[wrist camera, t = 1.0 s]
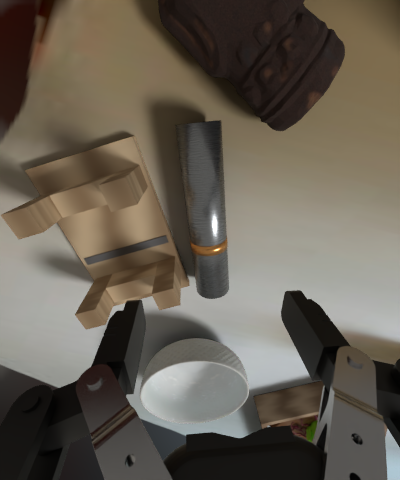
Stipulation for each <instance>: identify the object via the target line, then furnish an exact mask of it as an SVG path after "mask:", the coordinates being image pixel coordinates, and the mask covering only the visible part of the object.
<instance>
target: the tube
mask: <svg viewBox="0 0 400 480" xmlns="http://www.w3.org/2000/svg"><path fill="white" fill-rule="evenodd" d="M175 126H176V133H177V141H178V149H179V156H180V164H181V172H182V179H183V187H184V195H185V203H186V210H187V218H188V226H189V233H190V244H191V250H192V256H193V264H194V272H195V279H196V287H197V292H198V293H199V295H201V296H202V297H205V298H209V299H215V298H219V297H222V296H224V295H225V294H226V293H227V292H228V290H229V277H228V255H227V234H226V213H225V191H224V170H223V148H222V127H221V120H220V121H209V122H199V123H190V124H182V125H175Z"/></svg>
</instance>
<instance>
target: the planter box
mask: <svg viewBox="0 0 400 480" xmlns="http://www.w3.org/2000/svg"><path fill="white" fill-rule="evenodd" d="M323 387H324V384H323V382H322V381H318V382H314V383H310V384H305V385H301V386H297V387H292V388H288V389H284V390H279V391H275V392H270V393H266V394H262V395H257V396H254V400H255V404H256V407H257V411H258V415H259V419H260V423H261V426H262V429H263V428H266V427H267V426H268V425H272V424H277V423H281V422H286V421H290V420H295V419H299V418H304V417H308V416H313V415H318V414H319V409H320V403H321V397H322V391H323ZM384 430H385V436H386V432H387V426H386V425H385V423H384Z"/></svg>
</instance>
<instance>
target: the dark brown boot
mask: <svg viewBox="0 0 400 480" xmlns="http://www.w3.org/2000/svg"><path fill="white" fill-rule="evenodd" d="M303 2H304V0H158V3H159V13H160V18H161V22H162V24H163V26H164V27H165V28H166V29H167V30H168V31H169V32H170V33H171V34H172V35H173V36H174V37H175V38H176V39H177V40H178V41H179V42H180V43H181V44H182V45H183V46H184V48H185V49H186V50H187V51H188V52H189V53H190V54H191V55H192V56H193V57H194V58H195V59H196V60H197V62H198V63H199V64H200V65H201V66H202V67H203V69H204V70H205V71H206V72H207V73H208V74H209V75H211V76H213V77H223V78H226V79H227V80H229V81H230V82H231V83H232V84H233V85H234V86H235V88H236V91H237V92H238V94H240V95H241V96H242V97H243V98H244V99H245V101H246V102H247V103H248V104H249V105H250V106H251V107H252V108H253V109H254V111H255V114H256V116H259V117H260V118H261V121H262V122H264V123H267V124H268V125H269V126H270V127H271V128H272V129H274V130H276V131H284V130H286V129H287V128H289V127H291V126H292V125H294V124H295V123H297V122H298V121H299V120H300V119H301V118H302V117H303V116H304V115H305V114H306V113H307V112H308V111H309V110H310V109H311V108H312V107H313V106H314V104H315V103H316V102H317V101H318V100H319V99H320V98H321V97H322V96H323V95H324V93H325V92H326V91H327V89H328V88H329V86H330V84H331V83H332V81H333V79H334V77H335V76H336V74H337V72H338V70H339V69H340V67H341V64H342V62H343V59H344V56H345V48H344V44H343V42H342V41H341V40H340V39H339V38H338V37H337V35H336V34H335V32H334V30H332V29H328V28H327V26H326V24H325V22H323V21H321V20H319V19H318V18H317V17H316V16H315V15H314V14H312V13H311V12H310V11H309V10H308V9H307V8H305V6H304V4H303Z"/></svg>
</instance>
